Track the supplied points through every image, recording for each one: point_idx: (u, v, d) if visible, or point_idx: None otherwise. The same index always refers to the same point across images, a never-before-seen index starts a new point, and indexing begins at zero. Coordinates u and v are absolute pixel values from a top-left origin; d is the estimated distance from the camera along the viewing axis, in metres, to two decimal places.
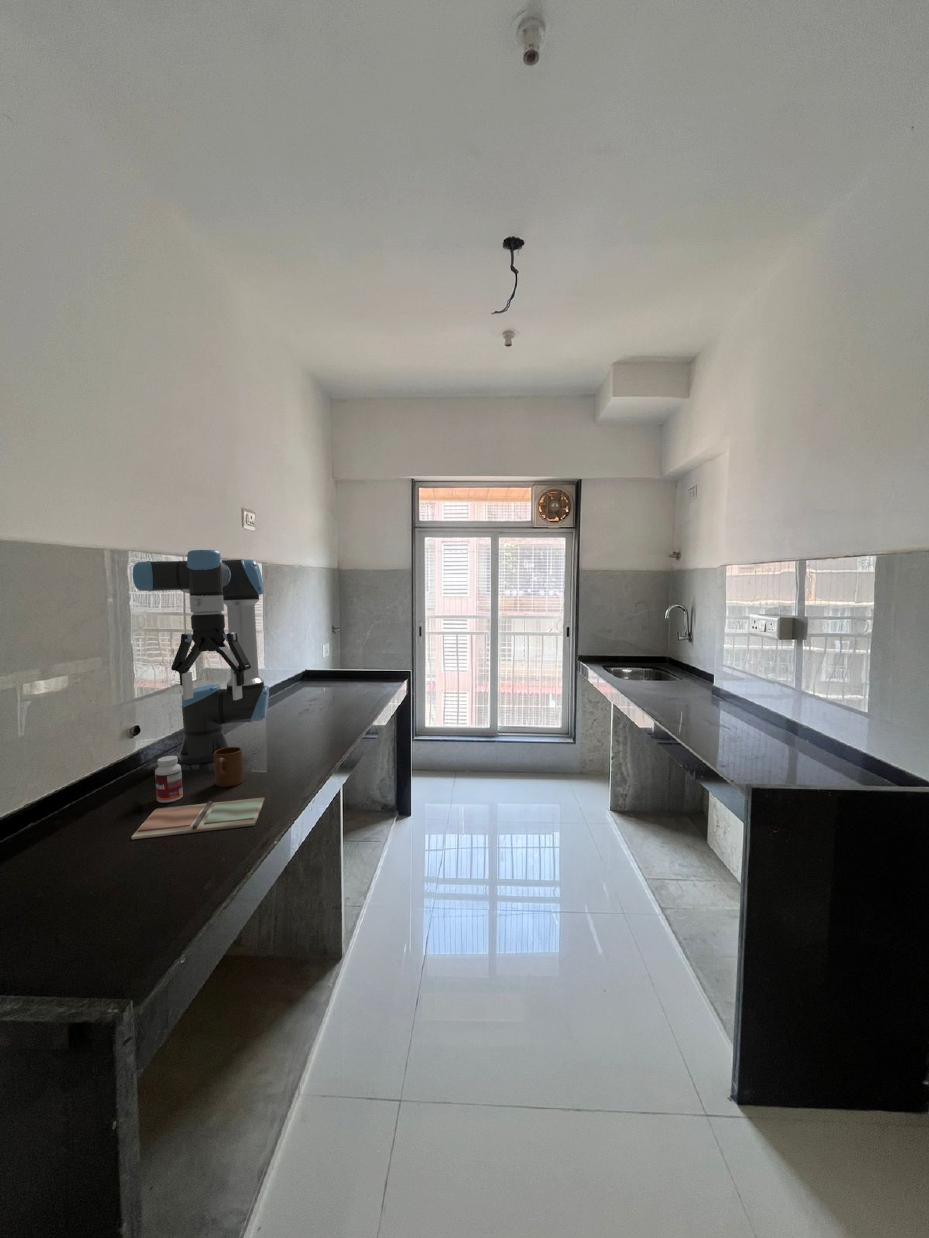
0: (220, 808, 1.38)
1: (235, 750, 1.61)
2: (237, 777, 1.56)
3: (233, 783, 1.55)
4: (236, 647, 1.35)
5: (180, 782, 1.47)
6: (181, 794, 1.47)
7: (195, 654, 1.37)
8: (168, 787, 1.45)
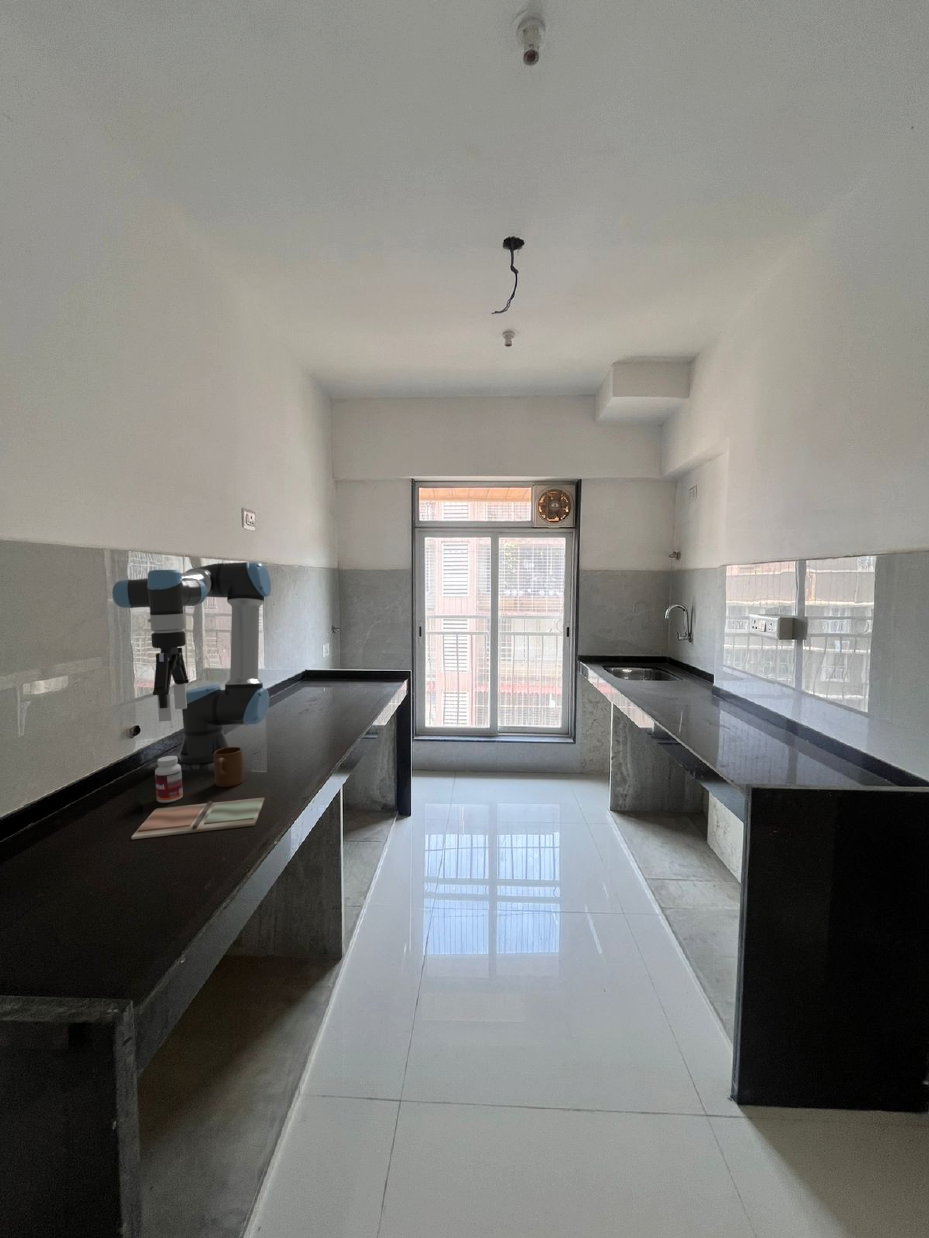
0: (220, 808, 1.38)
1: (235, 750, 1.61)
2: (237, 777, 1.56)
3: (233, 783, 1.55)
4: (159, 668, 1.33)
5: (180, 782, 1.47)
6: (181, 794, 1.47)
7: None
8: (168, 787, 1.45)
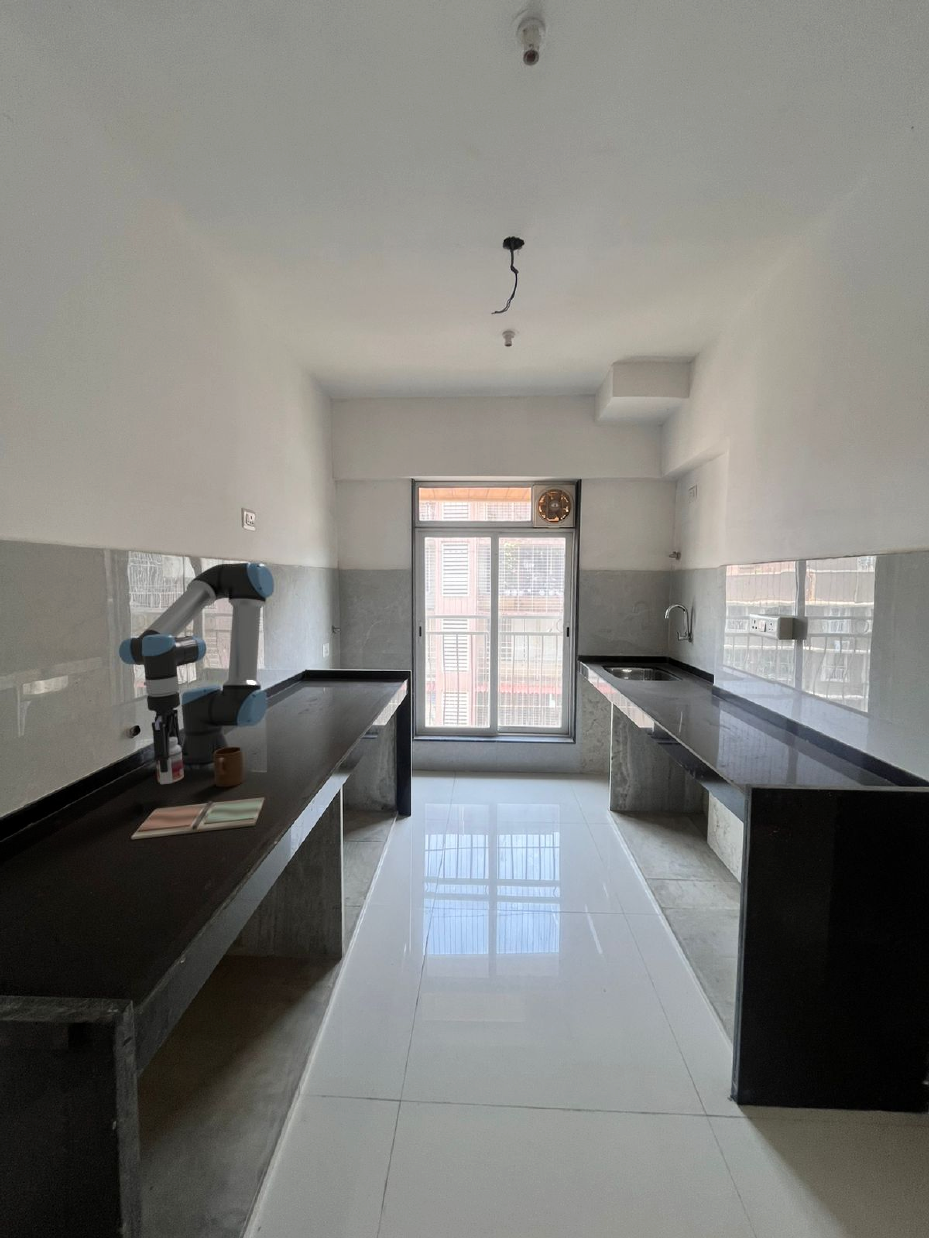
0: (220, 808, 1.38)
1: (235, 750, 1.61)
2: (237, 777, 1.56)
3: (233, 783, 1.55)
4: (156, 737, 1.40)
5: (180, 763, 1.48)
6: (181, 775, 1.48)
7: None
8: None
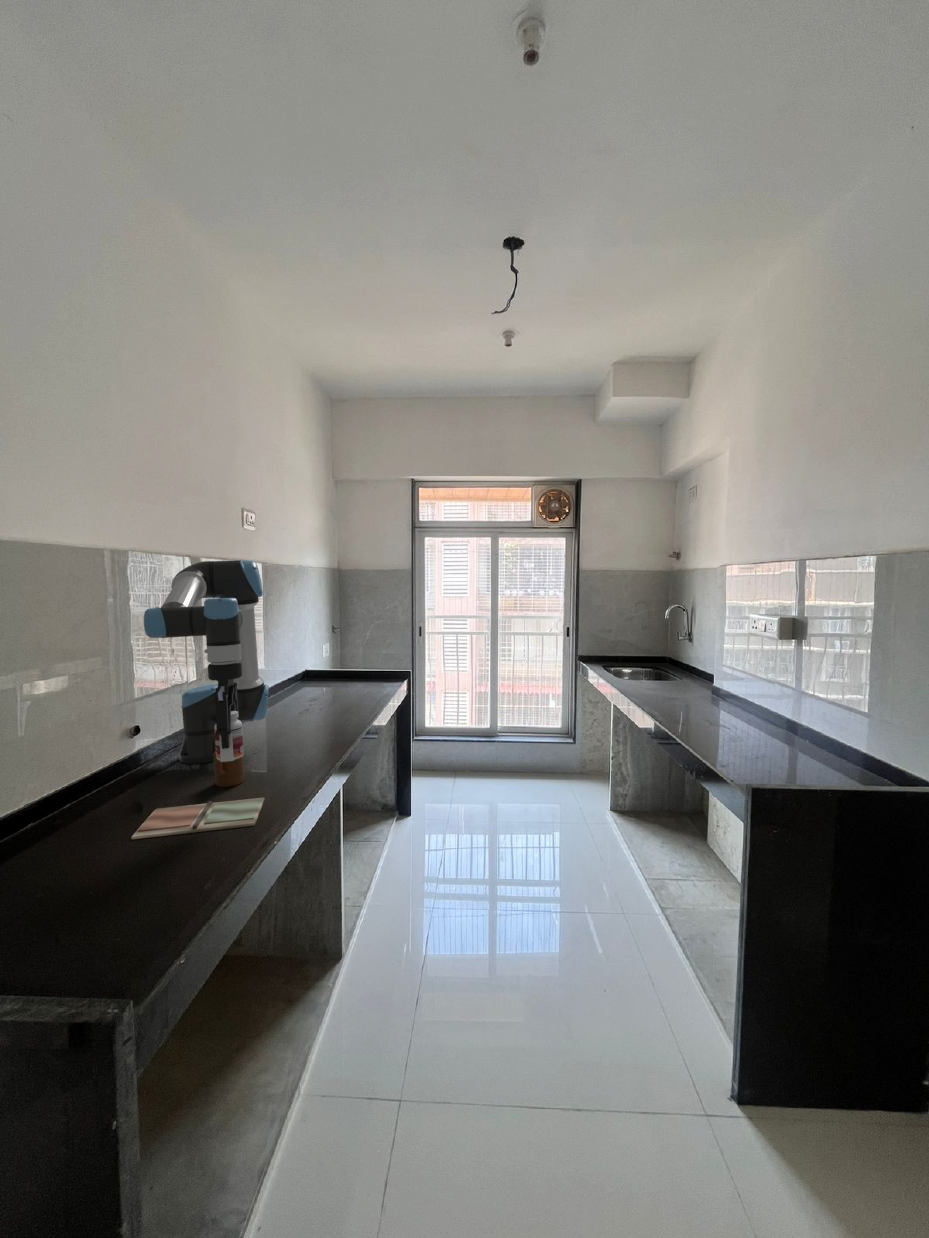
0: (220, 808, 1.38)
1: None
2: (237, 777, 1.56)
3: (233, 783, 1.55)
4: (219, 708, 1.28)
5: (241, 739, 1.35)
6: (242, 752, 1.35)
7: None
8: None
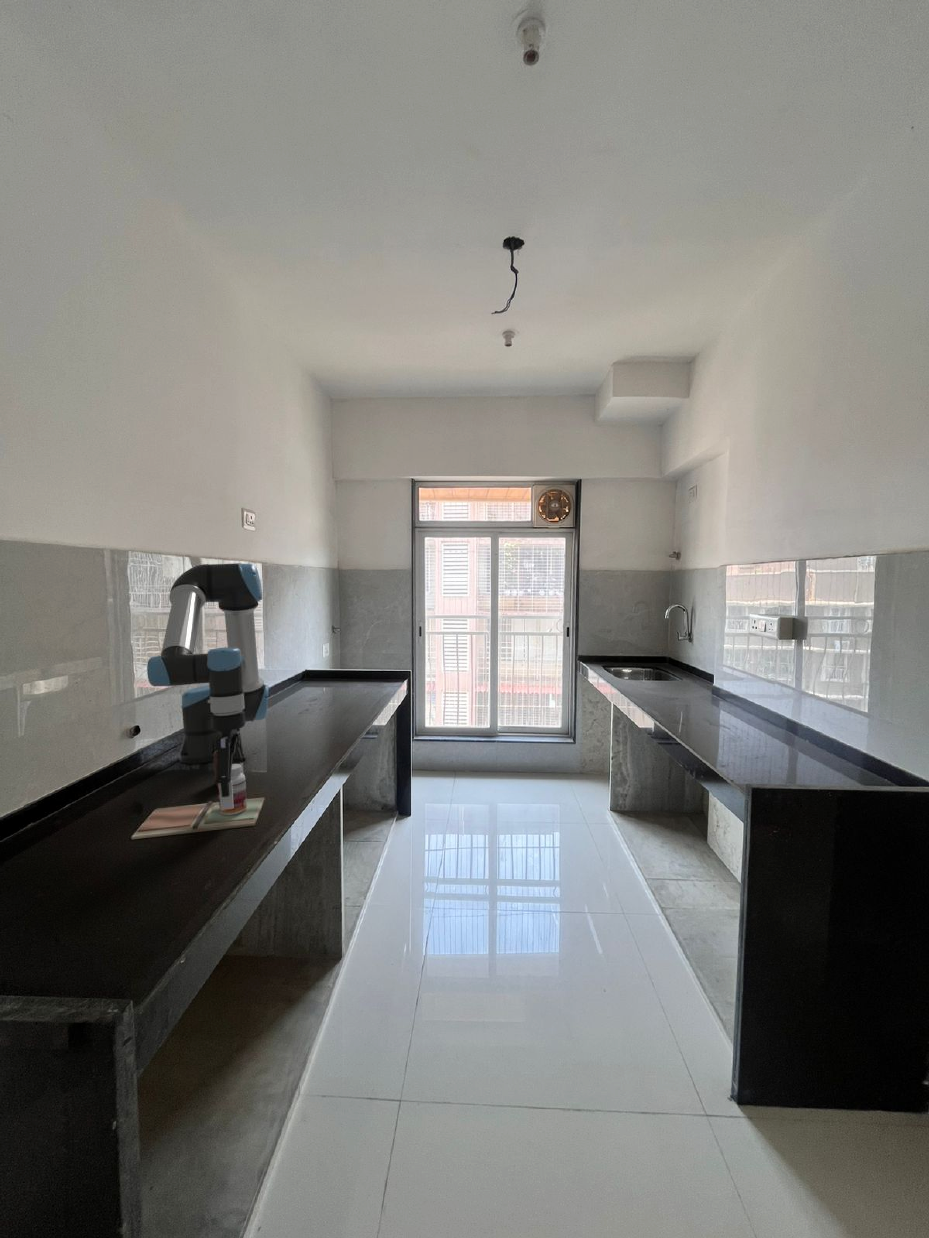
0: None
1: None
2: None
3: None
4: (220, 755, 1.27)
5: (245, 793, 1.36)
6: (245, 806, 1.36)
7: None
8: None
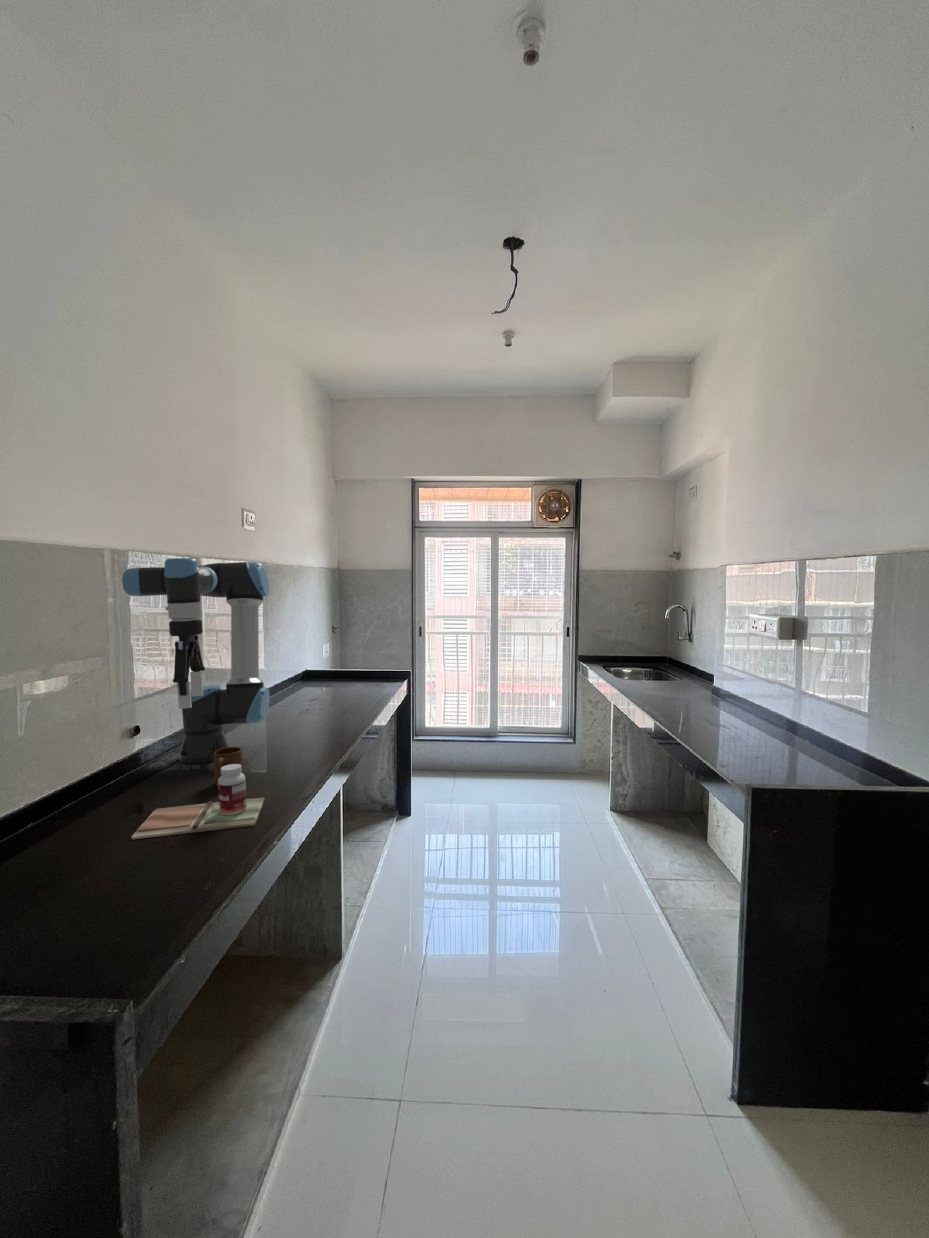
0: None
1: (235, 750, 1.61)
2: None
3: None
4: (178, 656, 1.34)
5: (244, 793, 1.36)
6: (245, 806, 1.36)
7: None
8: (232, 798, 1.33)
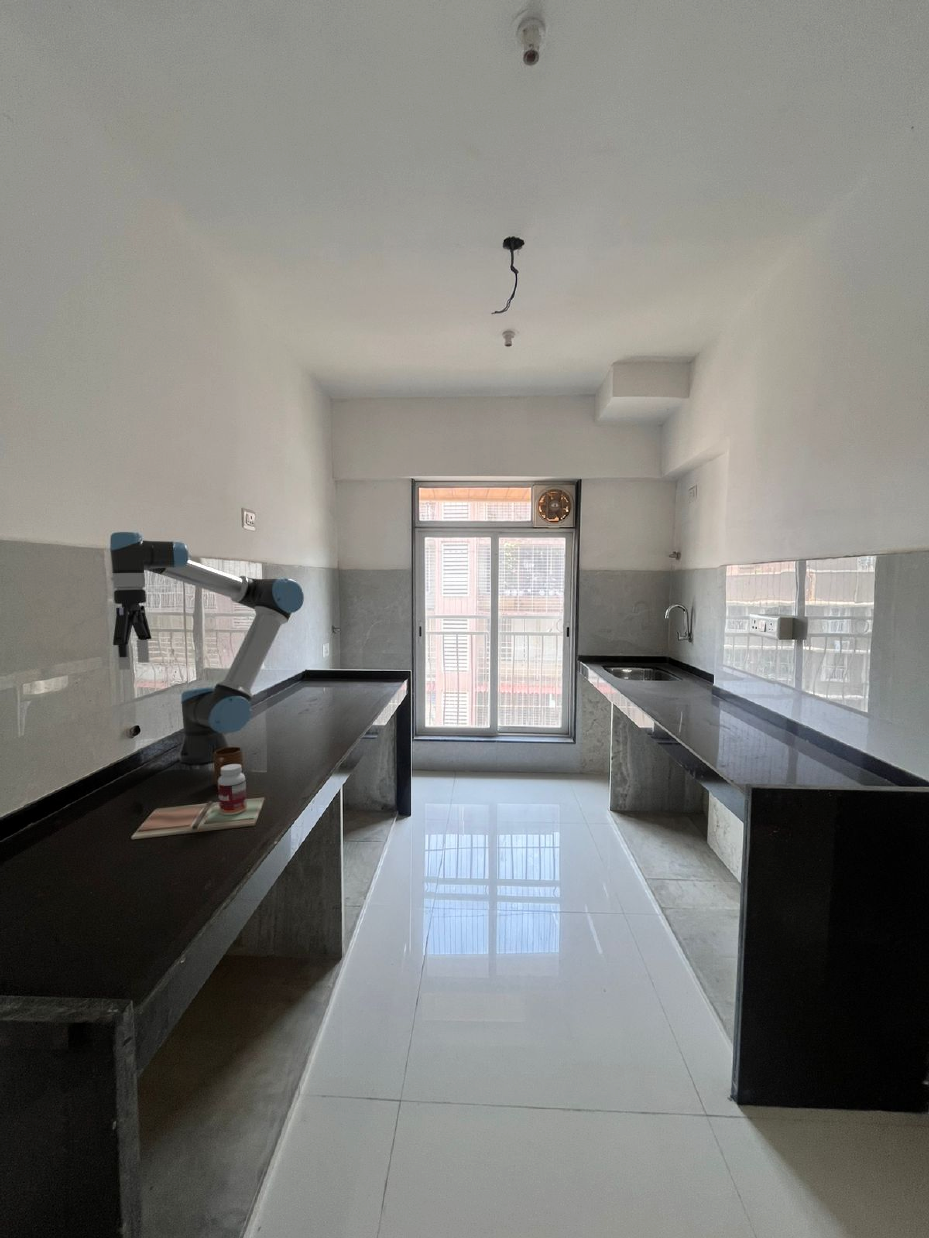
0: None
1: (235, 750, 1.61)
2: None
3: None
4: (118, 621, 1.46)
5: (244, 793, 1.36)
6: (245, 806, 1.36)
7: (134, 624, 1.57)
8: (232, 798, 1.33)
